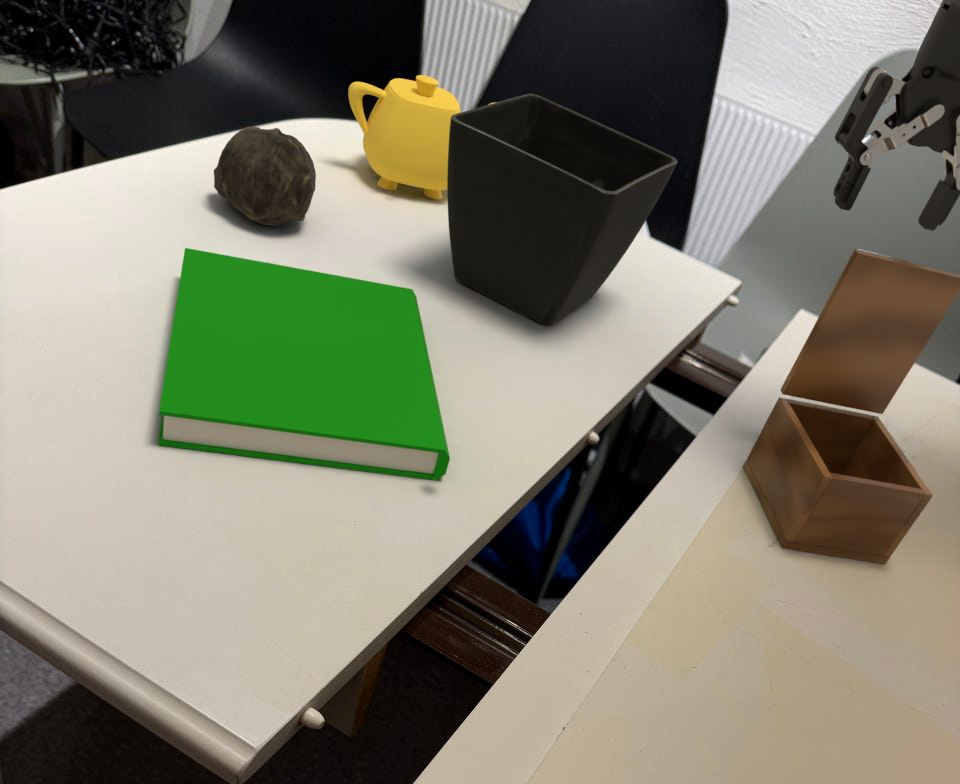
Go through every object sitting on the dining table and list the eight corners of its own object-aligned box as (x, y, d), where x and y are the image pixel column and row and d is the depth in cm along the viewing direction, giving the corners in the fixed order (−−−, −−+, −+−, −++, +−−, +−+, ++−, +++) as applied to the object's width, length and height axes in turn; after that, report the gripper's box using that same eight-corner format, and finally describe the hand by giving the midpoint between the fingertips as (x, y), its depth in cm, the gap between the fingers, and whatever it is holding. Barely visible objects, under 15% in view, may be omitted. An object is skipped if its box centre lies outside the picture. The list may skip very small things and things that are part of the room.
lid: (967, 279, 82) (939, 250, 86) (858, 253, 80) (835, 224, 84) (882, 414, 91) (861, 383, 95) (782, 394, 89) (764, 363, 93)
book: (158, 444, 74) (159, 411, 72) (183, 278, 93) (185, 247, 91) (443, 481, 80) (452, 450, 78) (411, 317, 99) (417, 290, 97)
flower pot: (559, 351, 103) (614, 190, 91) (412, 275, 106) (447, 112, 95) (626, 304, 116) (681, 159, 105) (493, 238, 120) (532, 92, 109)
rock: (228, 175, 111) (244, 88, 104) (319, 220, 112) (341, 137, 105) (190, 211, 104) (204, 121, 97) (287, 258, 106) (308, 173, 98)
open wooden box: (885, 564, 88) (933, 495, 83) (782, 547, 86) (824, 476, 81) (837, 482, 97) (878, 416, 92) (742, 465, 95) (778, 396, 90)
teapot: (494, 218, 125) (521, 116, 117) (340, 187, 119) (356, 77, 111) (478, 178, 134) (502, 81, 126) (334, 148, 129) (349, 43, 120)
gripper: (1044, 20, 79) (934, 217, 90) (893, -27, 76) (798, 183, 87) (1094, 45, 74) (970, 251, 85) (934, -5, 71) (827, 216, 81)
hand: (883, 217), depth 86 cm, fingers open, 8 cm apart
